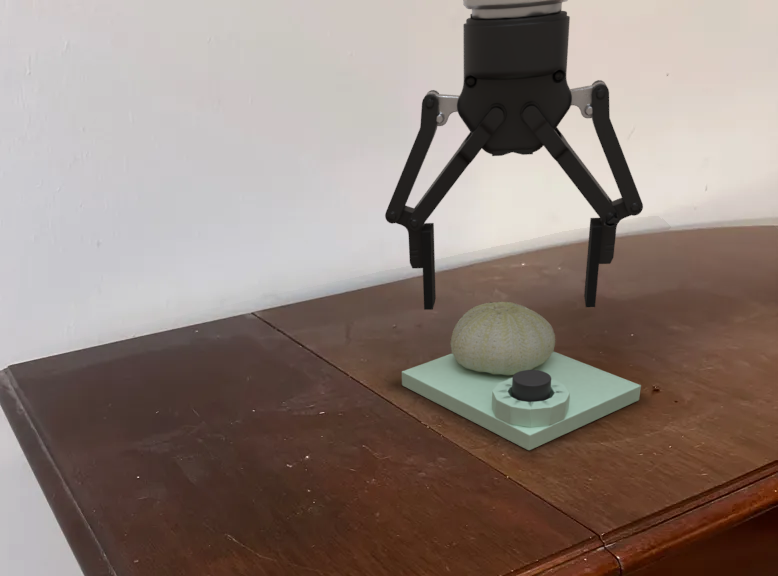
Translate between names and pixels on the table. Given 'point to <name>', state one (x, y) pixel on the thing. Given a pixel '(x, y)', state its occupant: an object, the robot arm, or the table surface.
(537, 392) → the power button
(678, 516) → the table surface
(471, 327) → the sea urchin shell
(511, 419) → the scale
